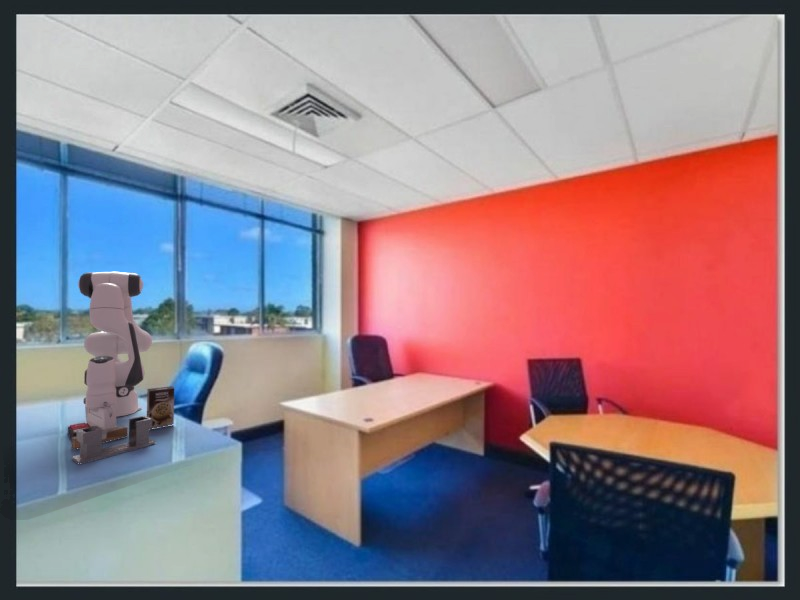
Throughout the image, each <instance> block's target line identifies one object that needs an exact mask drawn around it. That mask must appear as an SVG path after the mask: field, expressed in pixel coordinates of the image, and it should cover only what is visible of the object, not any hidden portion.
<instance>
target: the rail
mask: <svg viewBox="0 0 800 600" xmlns="http://www.w3.org/2000/svg"><path fill="white" fill-rule="evenodd" d="M126 436H127V437H128V436H129V426H126V425H123V426H119V427H117V426H116V428H115V429H112V430H108V432H107V438H106V439H103V440H102V444H104V443H103V442H105V443H107V442H106V441H109V442H111V441H110V440H113V441H115V440H114V439H118V438H122V437H126ZM127 437H126V438H127ZM122 439H123V438H122ZM118 440H119V439H118ZM72 448H73V449H72ZM77 448H80V442H78V441H77V436H76V437H72V439H71V449H72V450H74V449H76V450H78V449H77Z"/></svg>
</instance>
